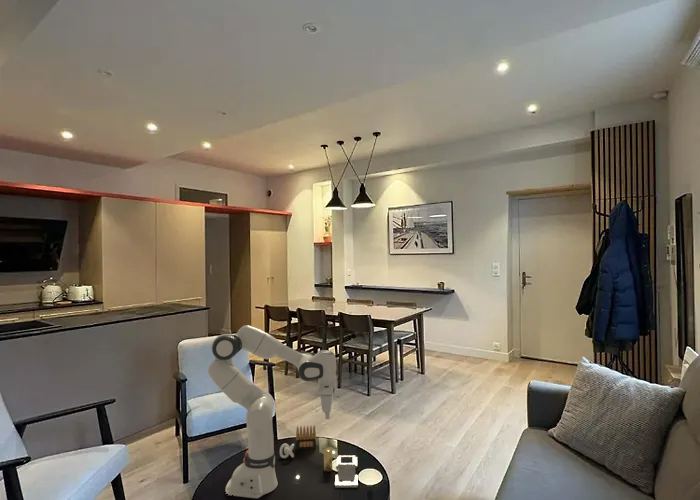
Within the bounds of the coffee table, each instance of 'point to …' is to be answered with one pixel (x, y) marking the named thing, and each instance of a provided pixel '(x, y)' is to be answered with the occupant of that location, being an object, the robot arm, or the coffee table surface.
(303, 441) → the ammunition clip
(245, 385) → the robot arm
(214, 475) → the coffee table surface
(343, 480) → the hinge
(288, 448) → the knot
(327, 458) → the hinge pin
